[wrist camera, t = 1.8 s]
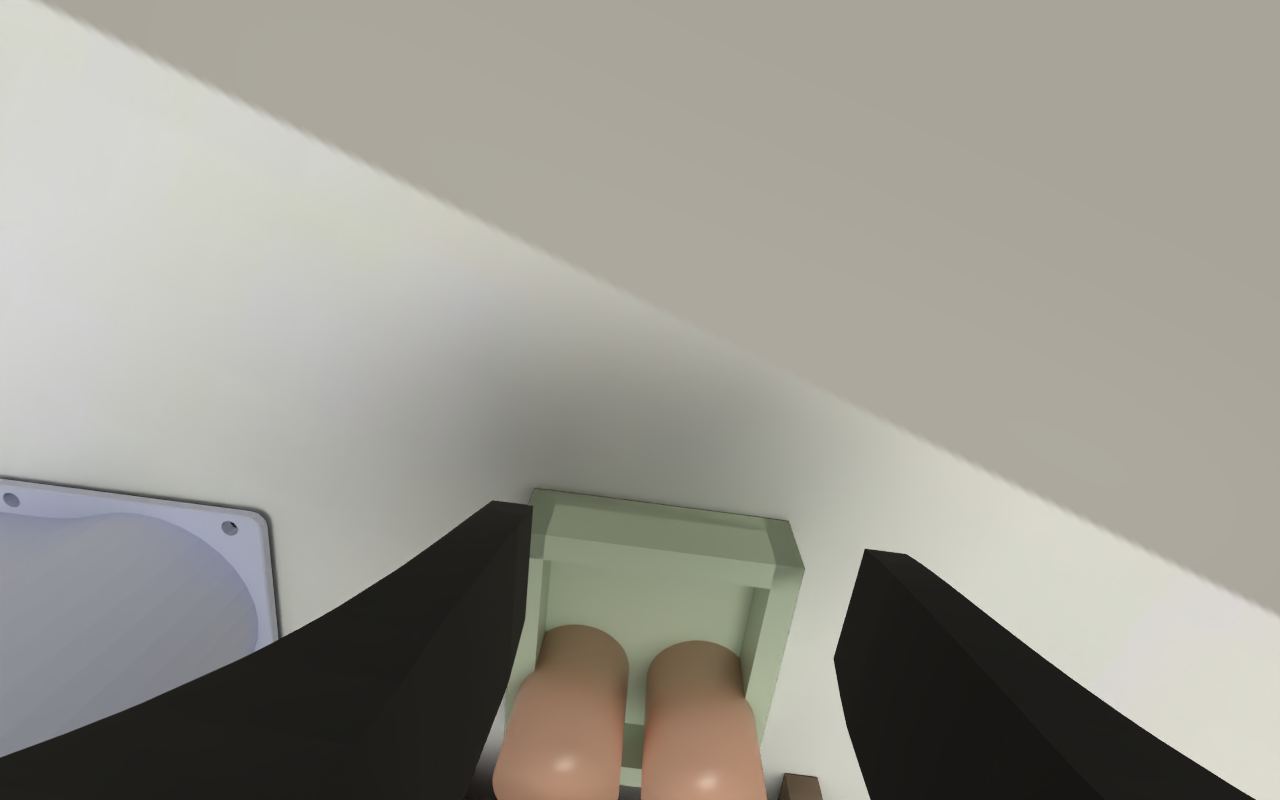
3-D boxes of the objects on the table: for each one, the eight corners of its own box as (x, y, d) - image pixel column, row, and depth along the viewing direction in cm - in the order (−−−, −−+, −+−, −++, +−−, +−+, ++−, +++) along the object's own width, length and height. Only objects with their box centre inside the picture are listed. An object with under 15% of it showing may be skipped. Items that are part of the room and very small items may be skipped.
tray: (519, 707, 23) (478, 854, 18) (534, 488, 20) (490, 593, 15) (738, 736, 23) (757, 891, 18) (788, 521, 20) (828, 637, 15)
